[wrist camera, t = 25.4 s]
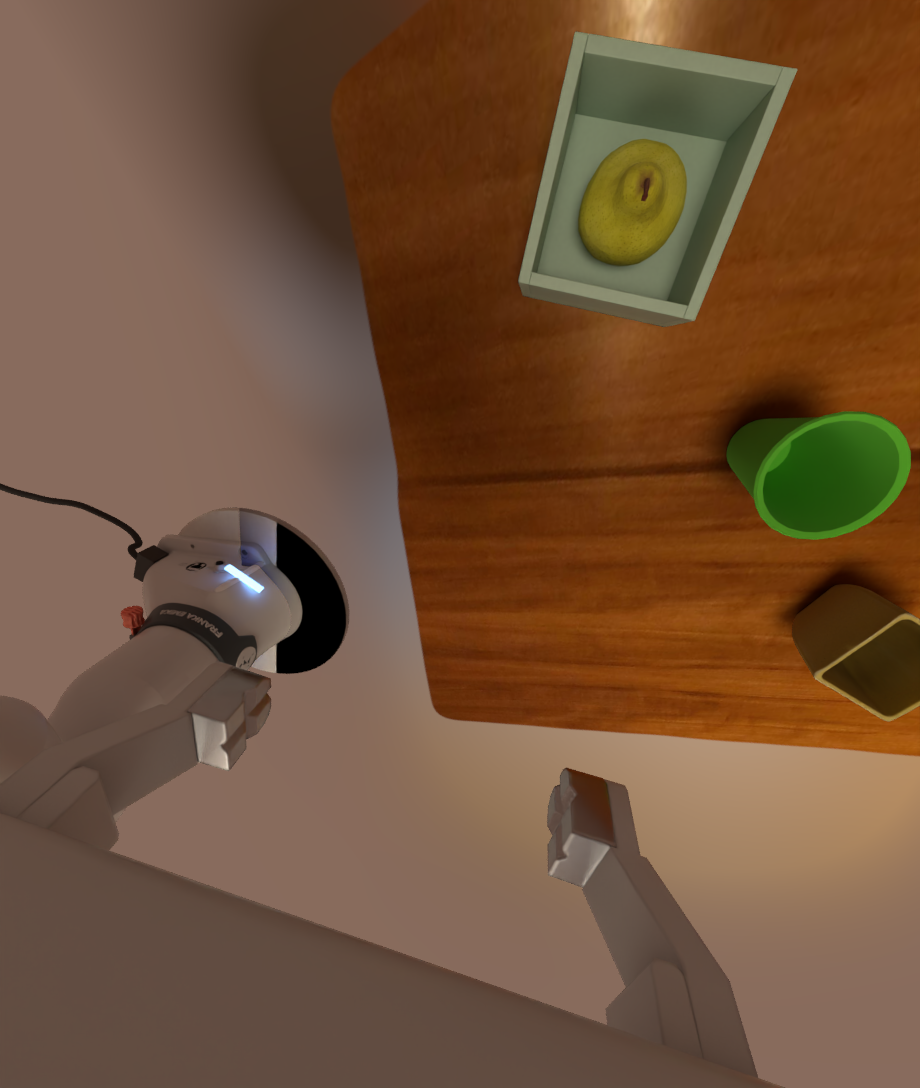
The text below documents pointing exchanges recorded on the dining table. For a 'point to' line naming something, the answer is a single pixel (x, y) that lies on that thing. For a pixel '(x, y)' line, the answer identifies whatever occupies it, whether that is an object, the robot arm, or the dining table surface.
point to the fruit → (632, 202)
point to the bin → (660, 115)
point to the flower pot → (862, 649)
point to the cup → (821, 471)
